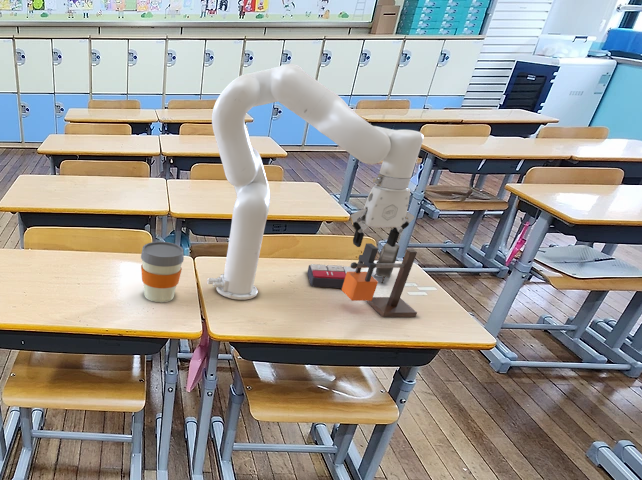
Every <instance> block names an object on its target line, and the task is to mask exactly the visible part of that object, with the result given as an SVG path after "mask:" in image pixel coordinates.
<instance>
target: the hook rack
mask: <svg viewBox="0 0 642 480" xmlns="http://www.w3.org/2000/svg"><path fill="white" fill-rule="evenodd" d="M417 254H418V251H417V250H415V249H406V250H405V253H404V255H403V259H402V261H401V263H399V262H398V263H396V262H395V263H377V262H376V263H375V262H374V263H375V264H376V267H375V268H374V269H376V268H393V269H399V270H398V273H397V275H396V278H395V282H394V283H393V287H392V288H391V292H390V295H389V296H373V298H372V301H366V302H367V303H368V304H369V306H371V307H372V308H373V309H374V310H375V311H376V312H377V314H379V315H380V316H381V317H382V318H416V317H417V314H418V312H417V311H416V310H415V309H414V308H412V307H411V306H410V305H409V304H408V303H407V302H406V301H405V300H404V299H402V294H403V291H404V288H405V286H406V283H407V281H408V279H409V276H410V272H411V270H412V267H413V264H414V262H415V260H416V257H417ZM349 267H351V268H352V269H355V268H361V269H362V268H363V269H364V268H365V269H366V268H367V269H369V267H367V266H366V265H365V264H364V263H358V262H356V261H352V262H351V263H350V265H349Z"/></svg>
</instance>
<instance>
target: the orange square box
mask: <svg viewBox="0 0 642 480" xmlns="http://www.w3.org/2000/svg"><path fill="white" fill-rule="evenodd" d="M378 251H379V248H378V247H377V246H375V245H374V244H373V243H365V246H364V248H363V252H362V254H359V255H358V260H357V261H358V262H357V263H364V264H365V265H366V266H367V267H369V268H367V271H362V268H356V271H355V272H347V273H346V277H345V280H344V283H343V287H342V288H341V292H342V293H344V294H345V296H346V297H348V298H349V300H350V301H352V302H360V301H361V302H367V301H372V298H373V297H374V295H375V292H376V289H377V286H378V284H379V281H378V280H377V279H376V278H374V276H373V273H374V270H375V269H376V268H375V267H376V264H375V260H376V257H377V254H378Z"/></svg>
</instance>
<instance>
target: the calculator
mask: <svg viewBox="0 0 642 480" xmlns="http://www.w3.org/2000/svg"><path fill="white" fill-rule="evenodd" d="M355 271H356V268H355V269H352V268H351V266H346V265H344V266H343V265H340V264H339V265H338V264H337V265H336V264H320V263H319V264H316V263H311V264H309V265H308V268H307V273H306V274H307V277H308V280H309V284H310V286H311V287H314V288H332V289H333V288H334V289H342V287H343V283H344V280H345V277H346V273H347V272H355Z"/></svg>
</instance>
